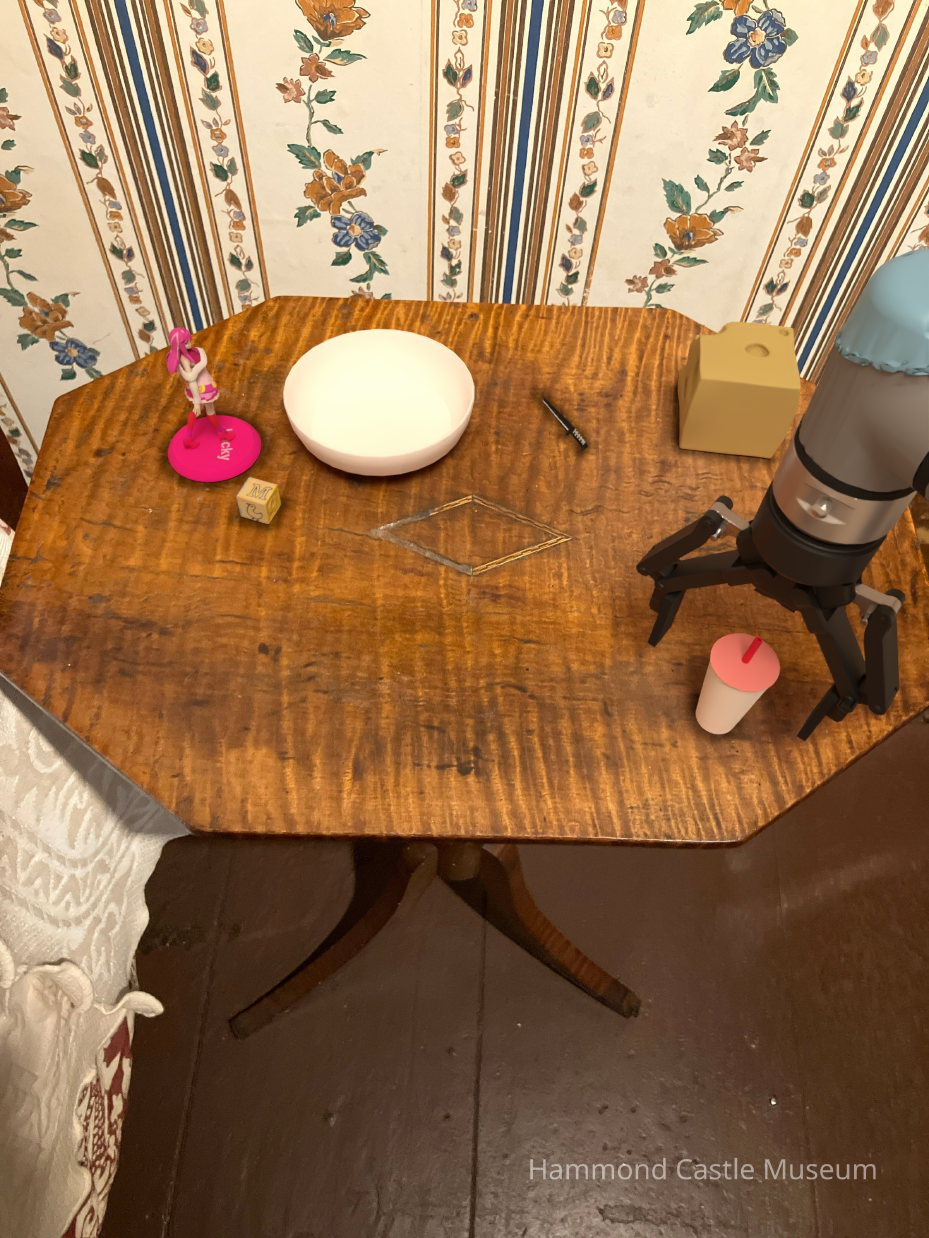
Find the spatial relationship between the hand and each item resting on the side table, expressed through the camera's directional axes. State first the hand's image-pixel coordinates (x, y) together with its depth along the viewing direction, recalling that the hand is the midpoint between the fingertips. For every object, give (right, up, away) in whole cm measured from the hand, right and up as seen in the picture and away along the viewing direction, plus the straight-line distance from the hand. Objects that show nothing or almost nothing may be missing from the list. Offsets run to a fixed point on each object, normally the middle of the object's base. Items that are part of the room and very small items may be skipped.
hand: (731, 679), depth 71 cm
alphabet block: (-42, +16, +17) cm, 48 cm away
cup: (0, -4, +5) cm, 6 cm away
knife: (-11, +26, +25) cm, 38 cm away
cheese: (+7, +26, +26) cm, 37 cm away
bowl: (-30, +25, +24) cm, 46 cm away
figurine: (-48, +23, +22) cm, 57 cm away
